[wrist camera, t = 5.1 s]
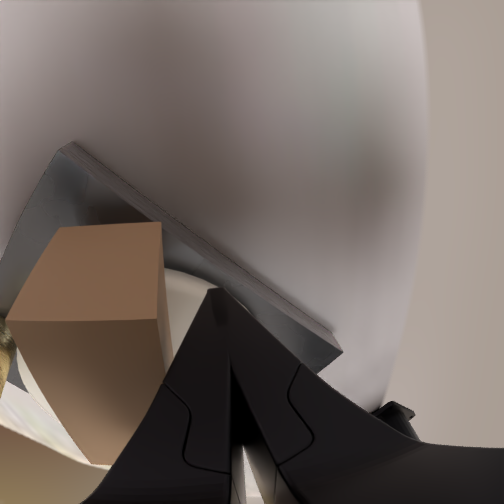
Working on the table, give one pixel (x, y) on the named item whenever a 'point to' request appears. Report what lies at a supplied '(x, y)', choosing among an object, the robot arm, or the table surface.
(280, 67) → the table surface
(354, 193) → the table surface
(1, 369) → the gold rounded piece
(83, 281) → the flange
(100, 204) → the base plate
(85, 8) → the table surface
